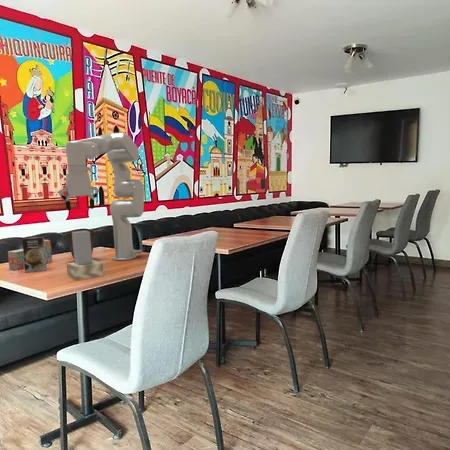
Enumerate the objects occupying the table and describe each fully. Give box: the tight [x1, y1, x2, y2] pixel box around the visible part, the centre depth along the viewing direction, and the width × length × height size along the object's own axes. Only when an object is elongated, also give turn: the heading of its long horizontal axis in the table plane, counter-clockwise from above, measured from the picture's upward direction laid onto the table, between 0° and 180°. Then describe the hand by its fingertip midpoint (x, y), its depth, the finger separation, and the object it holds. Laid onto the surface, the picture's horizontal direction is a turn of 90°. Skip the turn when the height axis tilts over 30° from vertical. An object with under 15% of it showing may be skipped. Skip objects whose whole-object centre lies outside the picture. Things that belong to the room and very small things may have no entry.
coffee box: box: [22, 236, 48, 273], centre depth 201 cm, size 9×6×16 cm
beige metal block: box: [66, 259, 104, 281], centre depth 185 cm, size 12×12×6 cm
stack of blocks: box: [7, 239, 53, 271], centre depth 214 cm, size 21×6×12 cm, turn 155°
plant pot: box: [65, 229, 96, 259], centre depth 220 cm, size 15×15×16 cm
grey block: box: [72, 229, 93, 265], centre depth 184 cm, size 6×7×14 cm
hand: (80, 209), depth 182 cm, fingers open, 9 cm apart
